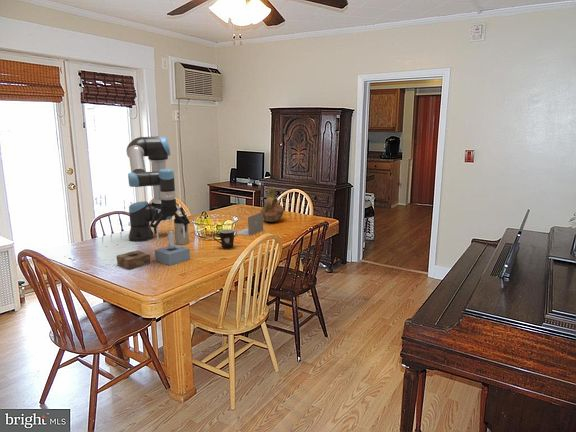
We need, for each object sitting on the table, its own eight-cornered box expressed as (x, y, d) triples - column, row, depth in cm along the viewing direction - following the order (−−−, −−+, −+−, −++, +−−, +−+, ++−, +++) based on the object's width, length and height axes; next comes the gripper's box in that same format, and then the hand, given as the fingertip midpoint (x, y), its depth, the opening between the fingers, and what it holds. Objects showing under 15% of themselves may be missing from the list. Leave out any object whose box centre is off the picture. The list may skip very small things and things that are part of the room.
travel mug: (175, 241, 257) (173, 213, 253) (188, 240, 259) (186, 212, 255) (176, 245, 249) (174, 216, 245) (189, 243, 252) (187, 215, 248)
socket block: (155, 260, 222) (154, 249, 221) (175, 254, 232) (175, 244, 230) (169, 265, 214) (168, 254, 212) (190, 259, 223) (189, 248, 222)
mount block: (117, 264, 216) (116, 255, 215) (138, 259, 225) (137, 250, 224) (129, 269, 208) (128, 260, 207) (150, 263, 217) (149, 254, 216)
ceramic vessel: (286, 217, 320) (285, 185, 315) (281, 225, 295) (280, 190, 289) (264, 217, 322) (263, 185, 317) (257, 224, 297) (256, 190, 292)
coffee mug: (237, 246, 246) (236, 229, 244) (230, 250, 238) (230, 233, 236) (220, 244, 250) (219, 228, 248) (213, 248, 242) (212, 232, 240)
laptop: (248, 228, 290) (247, 210, 287) (263, 230, 284) (263, 211, 281) (233, 234, 274) (232, 215, 271) (249, 236, 268) (248, 217, 266)
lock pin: (168, 258, 222) (166, 231, 219) (173, 256, 225) (171, 230, 221) (171, 259, 220) (169, 232, 217) (177, 257, 223) (175, 231, 219)
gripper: (143, 201, 208) (146, 242, 213) (193, 198, 216) (195, 237, 221) (142, 199, 215) (146, 238, 220) (191, 196, 223) (194, 233, 228)
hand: (171, 238), depth 220 cm, fingers open, 13 cm apart
